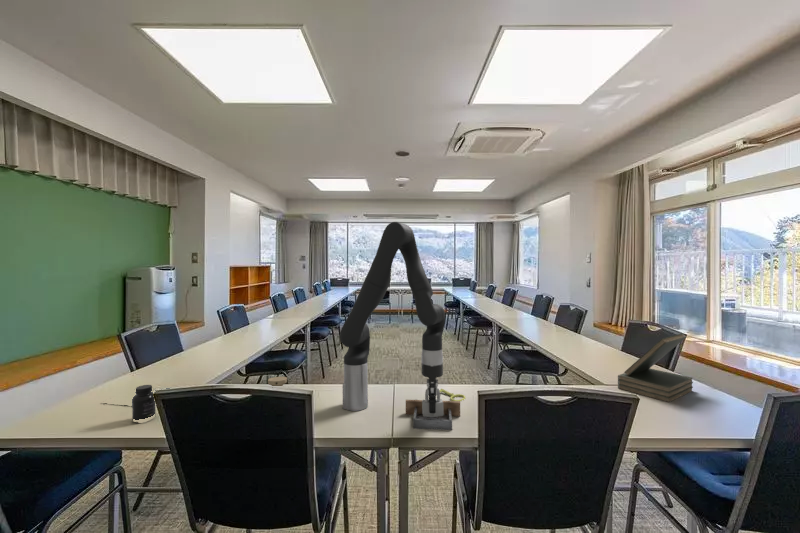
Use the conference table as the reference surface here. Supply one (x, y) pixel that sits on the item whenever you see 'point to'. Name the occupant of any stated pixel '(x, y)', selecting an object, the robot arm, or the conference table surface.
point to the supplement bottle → (143, 403)
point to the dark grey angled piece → (656, 374)
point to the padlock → (438, 406)
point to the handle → (277, 381)
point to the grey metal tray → (432, 421)
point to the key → (453, 395)
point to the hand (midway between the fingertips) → (432, 409)
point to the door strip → (446, 404)
